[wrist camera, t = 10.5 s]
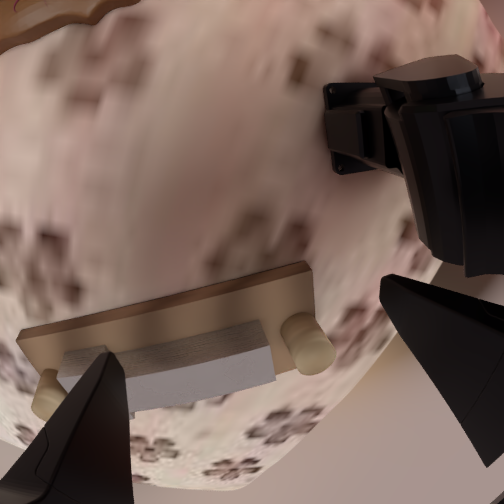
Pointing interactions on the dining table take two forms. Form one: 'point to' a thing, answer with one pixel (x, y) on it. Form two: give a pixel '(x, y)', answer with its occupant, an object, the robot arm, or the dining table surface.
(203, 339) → the grey stepped block
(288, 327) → the peg rack
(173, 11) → the dining table surface
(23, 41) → the plant
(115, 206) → the dining table surface
